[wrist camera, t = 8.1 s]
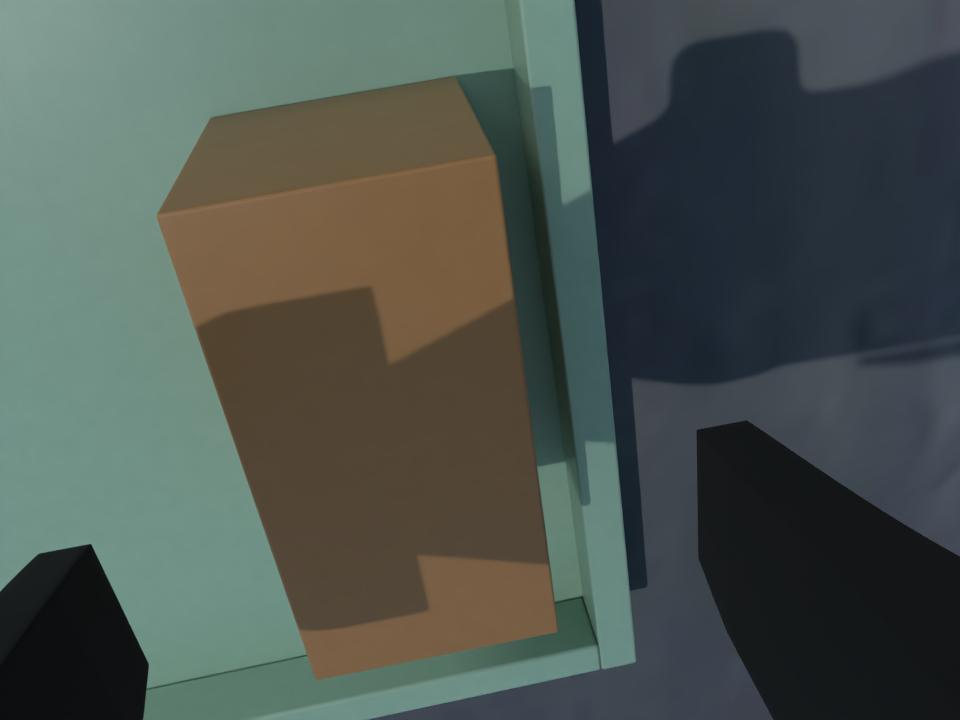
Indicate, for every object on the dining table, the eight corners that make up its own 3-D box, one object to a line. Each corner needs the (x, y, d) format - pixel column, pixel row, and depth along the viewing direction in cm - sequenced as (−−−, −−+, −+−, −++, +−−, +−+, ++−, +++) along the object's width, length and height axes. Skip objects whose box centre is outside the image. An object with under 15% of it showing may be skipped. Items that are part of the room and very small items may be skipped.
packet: (456, 74, 14) (497, 154, 10) (514, 468, 18) (559, 633, 14) (208, 117, 14) (154, 215, 10) (322, 505, 18) (315, 682, 14)
